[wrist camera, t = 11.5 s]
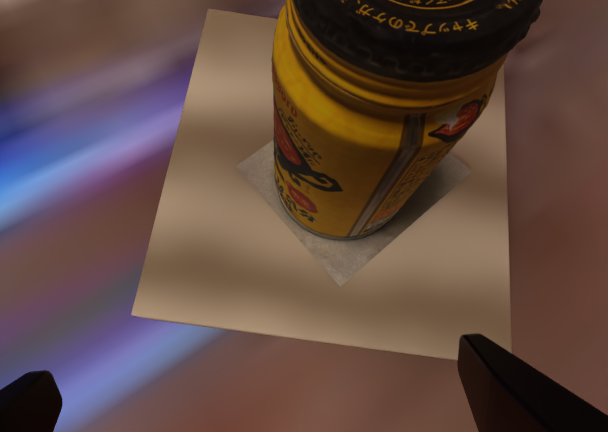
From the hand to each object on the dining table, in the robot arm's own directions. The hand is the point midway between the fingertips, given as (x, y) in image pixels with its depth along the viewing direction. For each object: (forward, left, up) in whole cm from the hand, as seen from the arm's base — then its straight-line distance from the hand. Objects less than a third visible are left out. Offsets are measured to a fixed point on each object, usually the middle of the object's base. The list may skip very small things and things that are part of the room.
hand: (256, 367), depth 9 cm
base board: (+6, -7, -11) cm, 14 cm away
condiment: (+6, -7, -8) cm, 12 cm away
